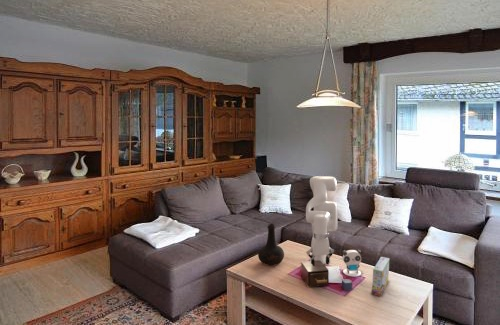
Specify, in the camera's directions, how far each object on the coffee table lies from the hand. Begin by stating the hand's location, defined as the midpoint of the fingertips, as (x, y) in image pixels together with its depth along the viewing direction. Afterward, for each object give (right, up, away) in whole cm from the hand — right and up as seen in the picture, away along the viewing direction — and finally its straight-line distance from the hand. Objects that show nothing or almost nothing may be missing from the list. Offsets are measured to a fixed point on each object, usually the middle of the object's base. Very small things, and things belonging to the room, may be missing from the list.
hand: (320, 264), depth 204 cm
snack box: (+36, -14, +2) cm, 39 cm away
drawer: (0, -13, +8) cm, 15 cm away
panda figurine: (+25, -12, +22) cm, 35 cm away
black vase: (-26, -11, +38) cm, 48 cm away
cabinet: (-1, -14, +12) cm, 18 cm away
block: (+16, -15, +2) cm, 22 cm away
